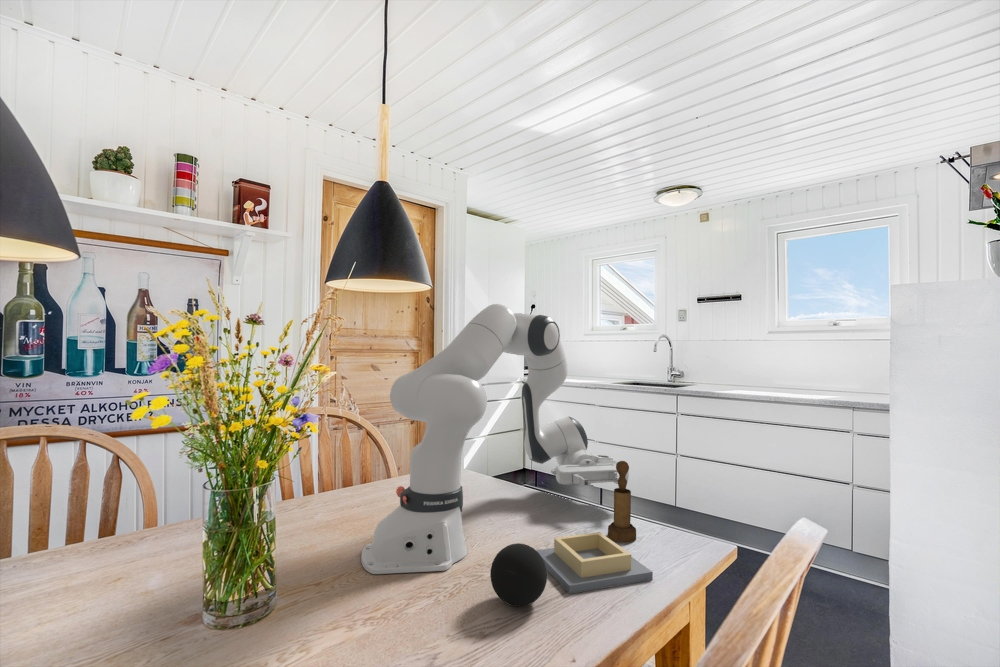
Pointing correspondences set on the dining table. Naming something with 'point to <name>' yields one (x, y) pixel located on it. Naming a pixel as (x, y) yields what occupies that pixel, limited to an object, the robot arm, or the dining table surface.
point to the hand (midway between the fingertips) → (602, 481)
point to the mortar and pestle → (622, 509)
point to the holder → (592, 563)
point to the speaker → (518, 575)
